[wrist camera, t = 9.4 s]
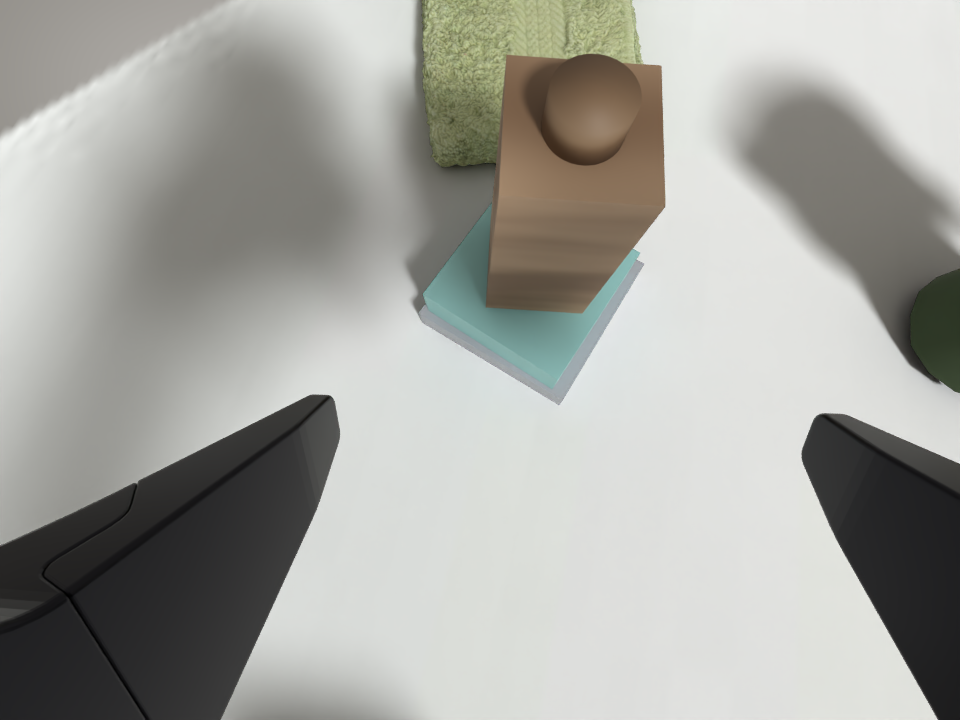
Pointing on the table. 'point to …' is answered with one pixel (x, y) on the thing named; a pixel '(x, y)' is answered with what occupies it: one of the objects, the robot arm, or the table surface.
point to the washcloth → (504, 60)
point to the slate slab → (507, 367)
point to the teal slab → (512, 311)
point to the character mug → (939, 328)
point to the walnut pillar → (572, 178)
